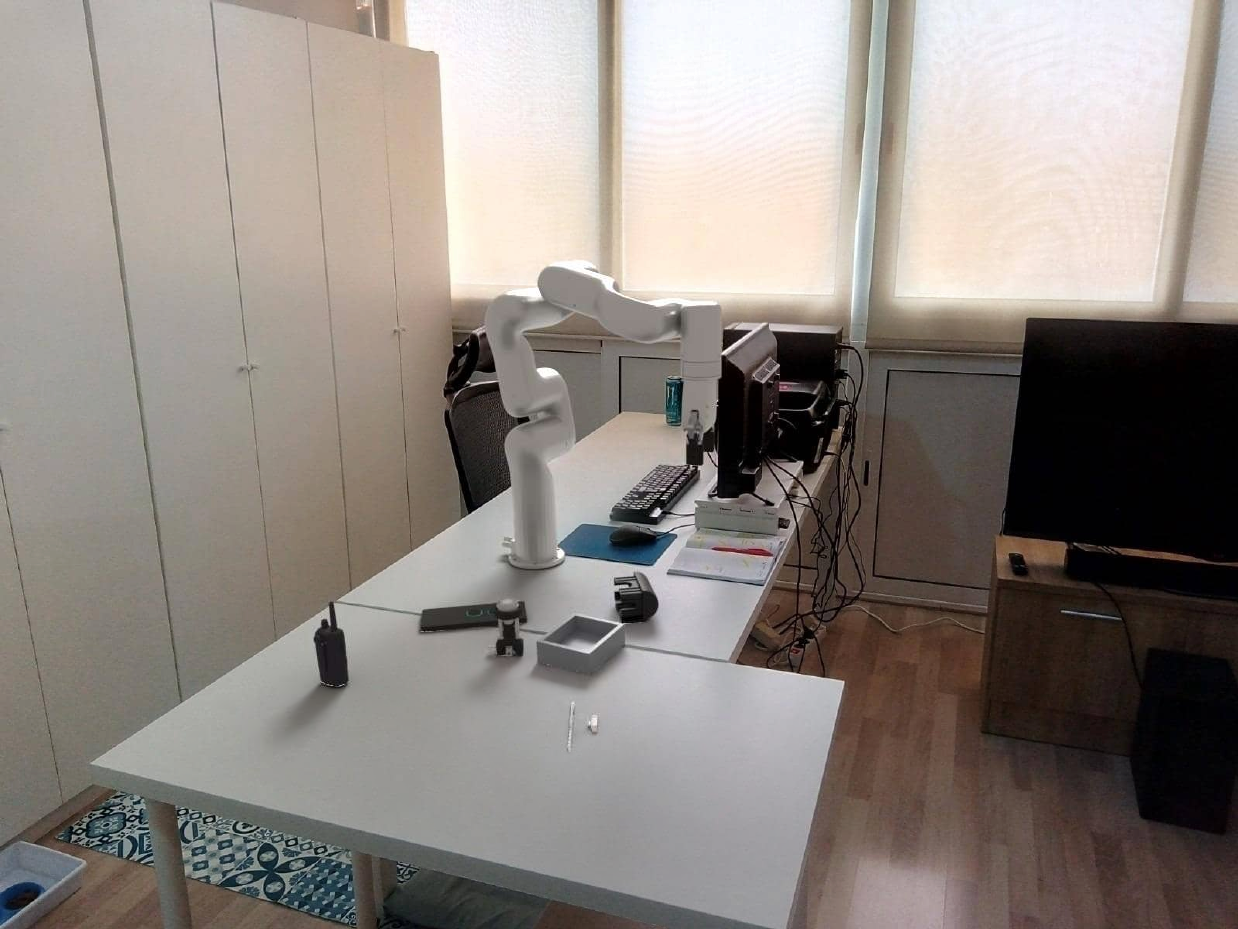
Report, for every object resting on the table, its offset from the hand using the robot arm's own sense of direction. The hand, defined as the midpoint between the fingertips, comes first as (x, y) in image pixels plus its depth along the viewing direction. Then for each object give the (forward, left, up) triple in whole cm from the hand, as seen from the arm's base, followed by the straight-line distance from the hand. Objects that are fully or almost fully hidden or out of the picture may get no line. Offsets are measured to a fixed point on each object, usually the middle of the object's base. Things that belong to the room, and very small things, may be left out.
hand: (700, 458), depth 170 cm
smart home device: (-36, -26, -30) cm, 54 cm away
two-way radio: (-42, -57, -30) cm, 77 cm away
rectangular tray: (-10, -29, -30) cm, 43 cm away
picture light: (+2, -49, -30) cm, 58 cm away
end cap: (-9, -10, -30) cm, 33 cm away
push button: (-22, -35, -30) cm, 51 cm away
